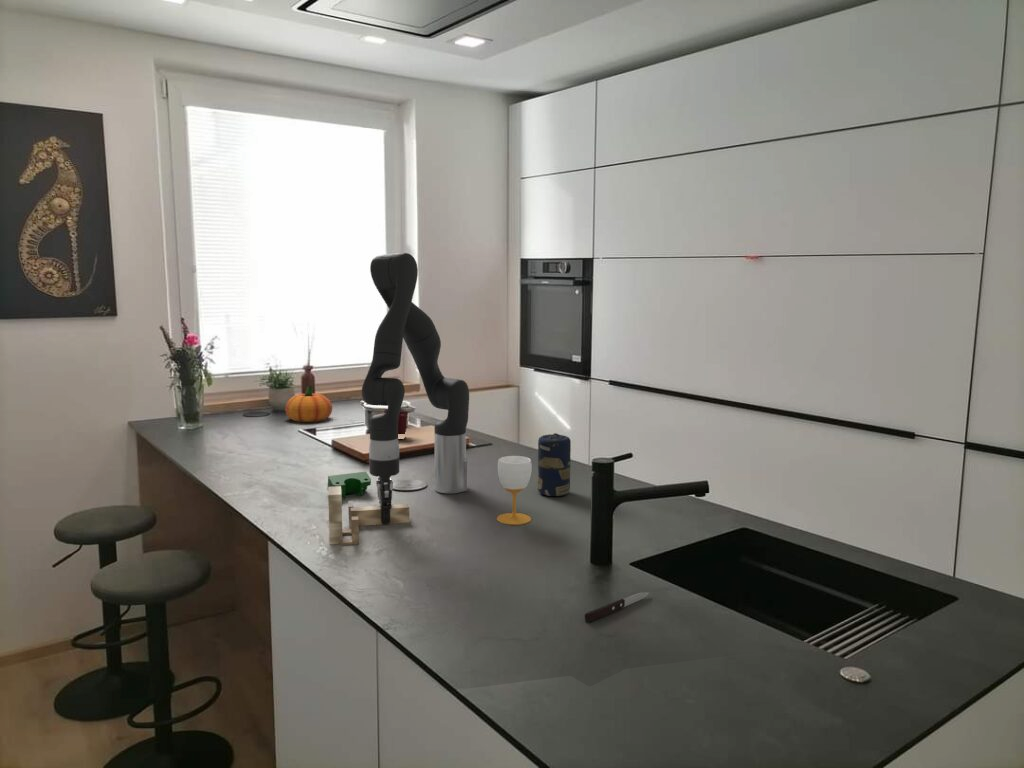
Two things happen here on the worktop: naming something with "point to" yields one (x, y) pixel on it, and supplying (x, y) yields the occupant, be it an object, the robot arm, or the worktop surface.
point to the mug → (401, 421)
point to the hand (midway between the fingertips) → (385, 520)
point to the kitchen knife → (613, 607)
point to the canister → (554, 464)
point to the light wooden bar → (379, 514)
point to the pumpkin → (308, 407)
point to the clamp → (350, 482)
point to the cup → (514, 484)
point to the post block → (340, 519)
